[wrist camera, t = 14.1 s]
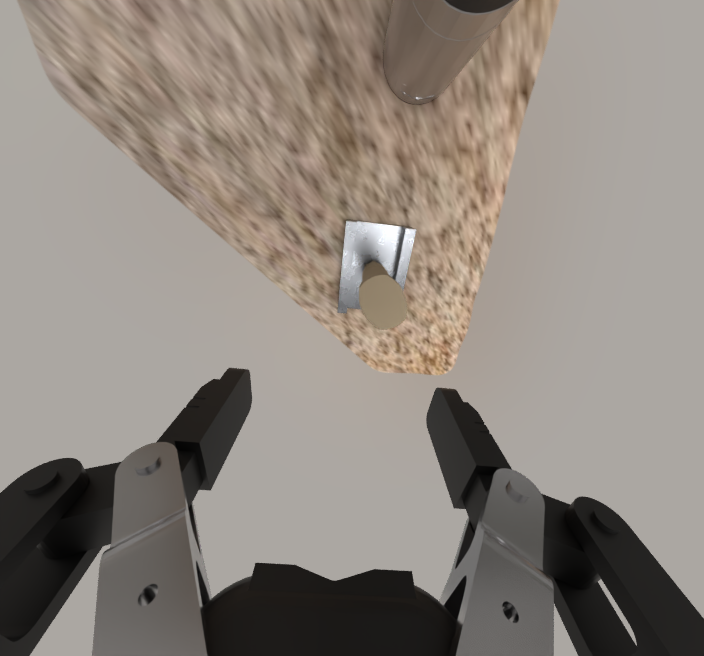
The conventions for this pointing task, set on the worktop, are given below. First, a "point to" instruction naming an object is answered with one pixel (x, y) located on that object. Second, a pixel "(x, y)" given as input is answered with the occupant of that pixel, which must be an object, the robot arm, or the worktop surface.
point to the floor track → (372, 256)
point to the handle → (381, 297)
